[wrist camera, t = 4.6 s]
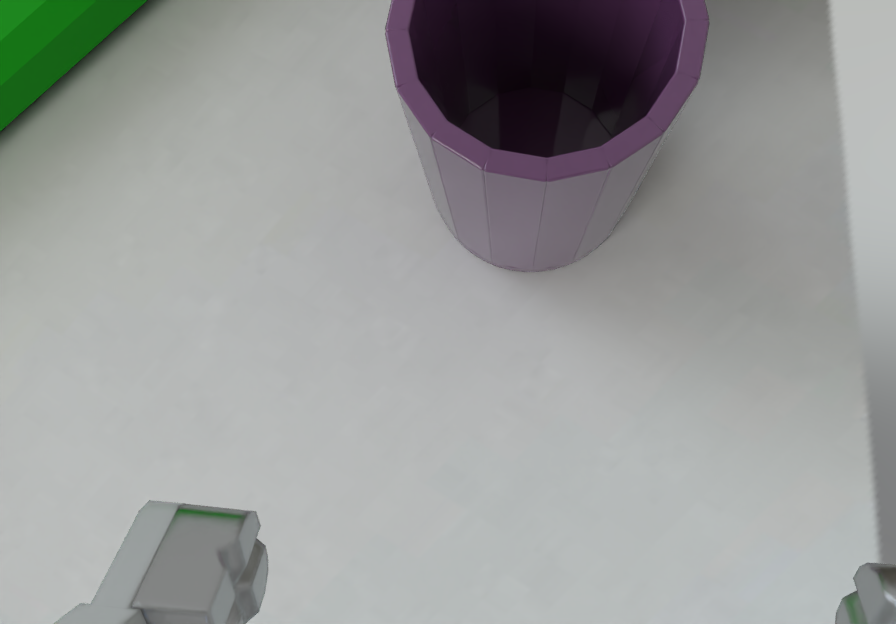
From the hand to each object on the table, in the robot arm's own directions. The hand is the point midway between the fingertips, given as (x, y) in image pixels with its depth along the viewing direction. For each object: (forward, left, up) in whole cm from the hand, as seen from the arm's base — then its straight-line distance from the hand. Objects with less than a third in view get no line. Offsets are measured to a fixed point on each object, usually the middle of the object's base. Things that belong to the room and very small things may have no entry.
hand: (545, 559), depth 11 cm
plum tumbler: (+5, -8, -14) cm, 17 cm away
